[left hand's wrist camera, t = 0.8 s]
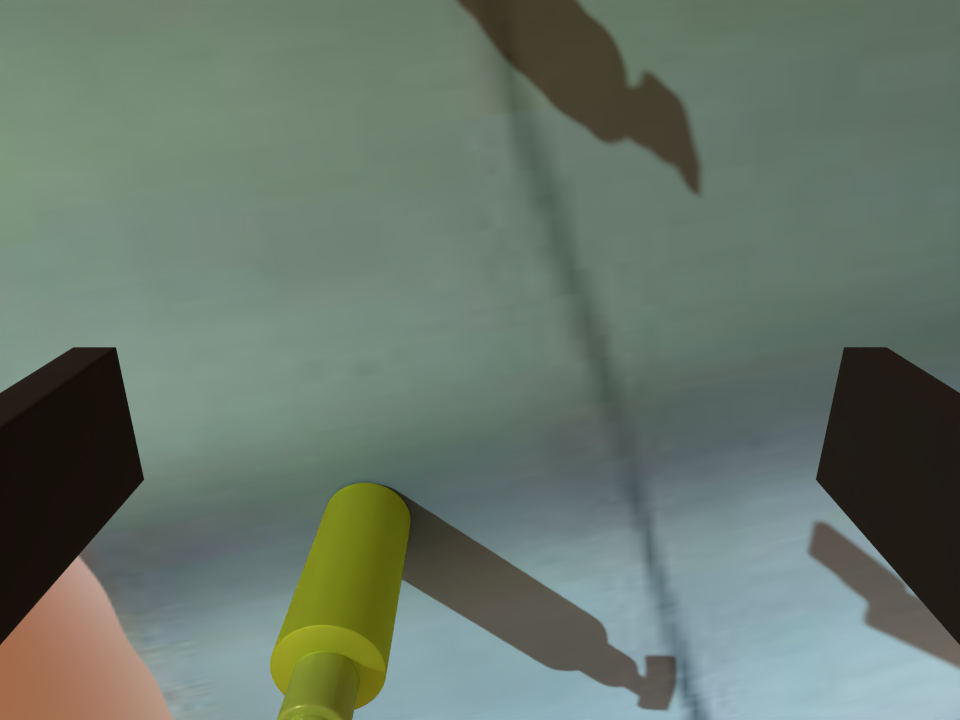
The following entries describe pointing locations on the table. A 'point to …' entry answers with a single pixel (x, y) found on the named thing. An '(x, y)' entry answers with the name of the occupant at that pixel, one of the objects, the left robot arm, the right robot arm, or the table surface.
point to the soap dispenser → (343, 607)
